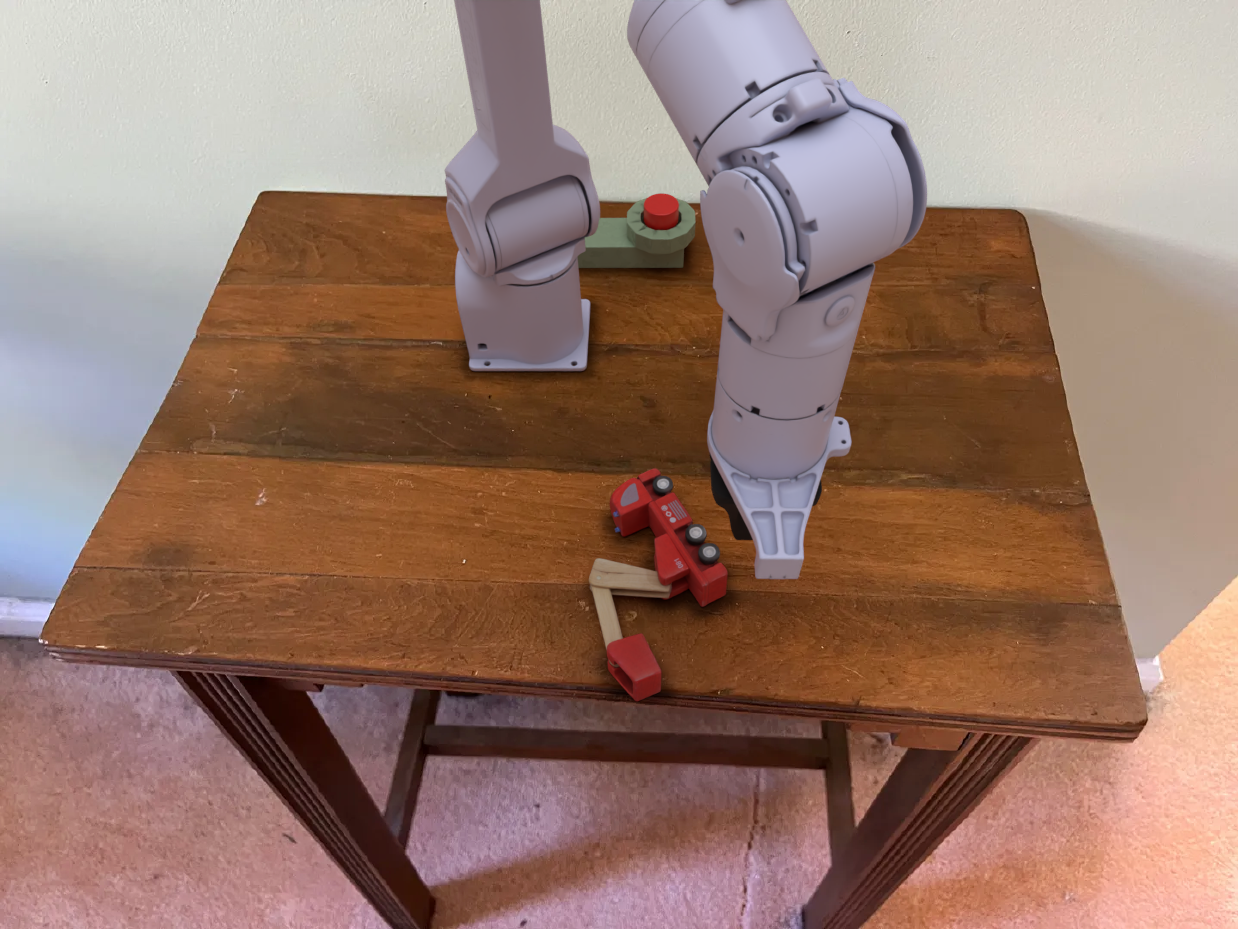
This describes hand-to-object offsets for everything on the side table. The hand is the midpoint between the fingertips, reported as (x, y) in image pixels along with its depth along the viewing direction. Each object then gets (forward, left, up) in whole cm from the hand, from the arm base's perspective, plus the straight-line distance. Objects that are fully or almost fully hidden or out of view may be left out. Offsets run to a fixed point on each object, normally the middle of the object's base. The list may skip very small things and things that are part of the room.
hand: (751, 530), depth 50 cm
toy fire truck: (-2, +3, -7) cm, 8 cm away
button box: (-8, +35, -8) cm, 36 cm away
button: (-5, +35, -5) cm, 35 cm away
